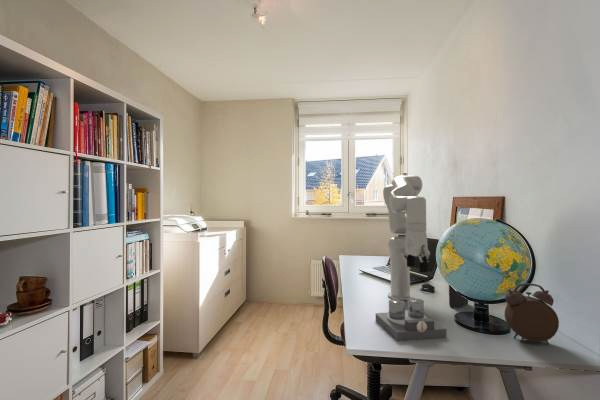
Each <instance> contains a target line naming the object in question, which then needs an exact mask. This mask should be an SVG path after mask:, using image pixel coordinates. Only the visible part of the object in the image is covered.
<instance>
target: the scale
mask: <svg viewBox="0 0 600 400" xmlns="http://www.w3.org/2000/svg"><path fill="white" fill-rule="evenodd" d="M375 322H376V323H378V324H379V326H380V327H382V328H383V329H384V330H385V331H386V332H387V333H388V335H390V336H391V337H392V338H393V339H394V340H395V341H396V342H403V341H405V342H406V341H414V340H415V341H416V340H427V339H429V340H431V339H440V338H441V339H442V338H448V337H447V328H446V327H444V326H443V325H441V324H439V323H438V322H437V321H435V320H434V319H432V318H430V317H429V316H427V315H425V314H424V318H421V319H416V318H411V317H409V316H408V309H405V319H403V320H395V319H391V318H390V317H389V311H388V312H377V313H375Z"/></svg>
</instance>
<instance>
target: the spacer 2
mask: <svg viewBox="0 0 600 400" xmlns="http://www.w3.org/2000/svg"><path fill="white" fill-rule="evenodd" d="M407 310H408V316H409V317H411V318H416V319H421V318H424V315H425V303H424V300H423V299H420V298H415V297H413V298H410V299H408V300H407Z"/></svg>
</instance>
